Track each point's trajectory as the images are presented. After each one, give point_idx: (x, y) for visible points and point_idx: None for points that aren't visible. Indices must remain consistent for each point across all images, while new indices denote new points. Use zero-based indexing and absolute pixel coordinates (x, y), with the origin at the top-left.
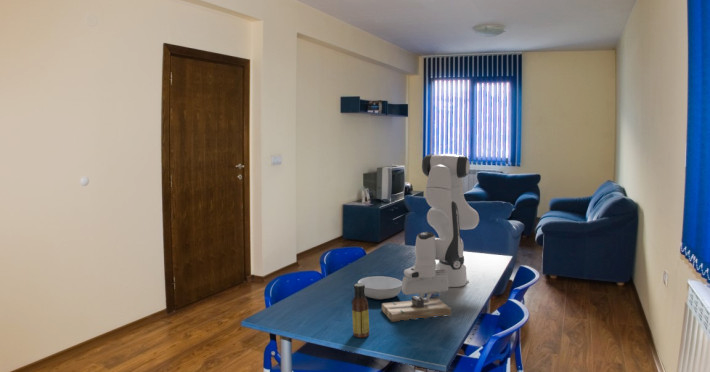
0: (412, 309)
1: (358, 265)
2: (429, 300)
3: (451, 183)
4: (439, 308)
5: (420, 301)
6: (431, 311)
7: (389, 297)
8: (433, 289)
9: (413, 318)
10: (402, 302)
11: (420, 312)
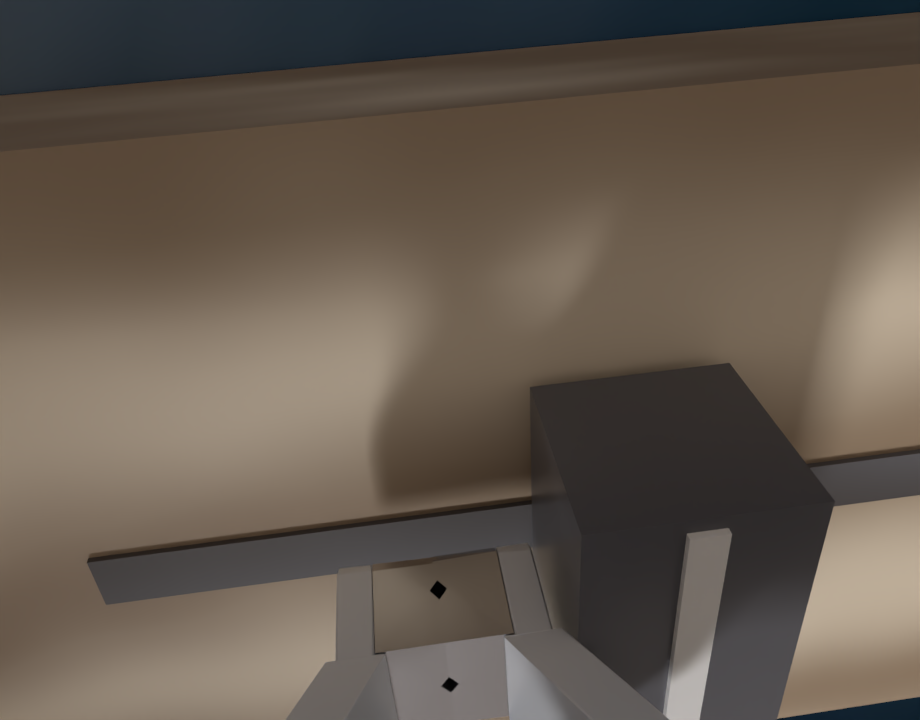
0: (871, 303)
1: None
2: None
3: None
4: (50, 276)
5: (700, 493)
6: (371, 109)
7: None
8: None
9: (884, 19)
10: (821, 679)
11: (753, 75)
